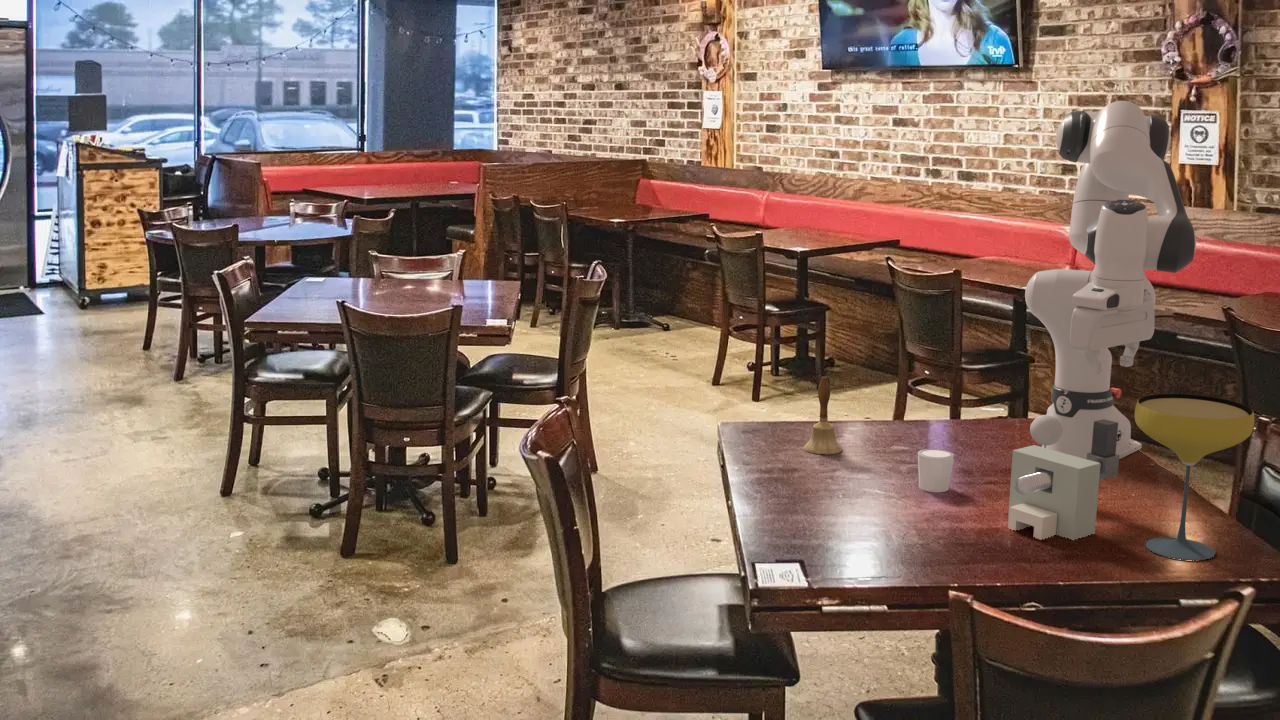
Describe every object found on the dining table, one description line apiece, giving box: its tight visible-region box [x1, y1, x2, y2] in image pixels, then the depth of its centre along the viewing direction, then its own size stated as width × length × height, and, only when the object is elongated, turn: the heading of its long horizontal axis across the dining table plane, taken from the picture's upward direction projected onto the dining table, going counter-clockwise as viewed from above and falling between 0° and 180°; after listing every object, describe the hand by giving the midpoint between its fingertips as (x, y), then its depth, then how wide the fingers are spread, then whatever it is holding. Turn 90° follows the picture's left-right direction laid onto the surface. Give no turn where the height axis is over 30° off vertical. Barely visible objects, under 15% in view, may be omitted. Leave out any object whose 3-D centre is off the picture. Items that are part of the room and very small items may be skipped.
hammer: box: [1014, 419, 1120, 495], centre depth 224 cm, size 25×4×10 cm, turn 125°
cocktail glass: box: [1134, 393, 1255, 562], centre depth 211 cm, size 18×18×25 cm
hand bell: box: [803, 376, 843, 456], centre depth 271 cm, size 8×8×16 cm
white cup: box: [917, 448, 955, 493], centre depth 246 cm, size 7×7×7 cm
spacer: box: [1007, 503, 1057, 541], centre depth 221 cm, size 4×7×4 cm, turn 35°
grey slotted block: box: [1007, 444, 1101, 541], centre depth 224 cm, size 6×14×13 cm, turn 35°
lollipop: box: [1029, 414, 1063, 448], centre depth 244 cm, size 6×6×15 cm
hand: (1110, 369), depth 227 cm, fingers open, 8 cm apart
